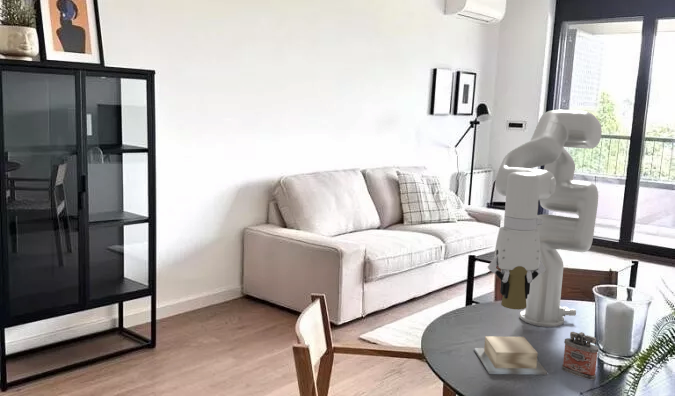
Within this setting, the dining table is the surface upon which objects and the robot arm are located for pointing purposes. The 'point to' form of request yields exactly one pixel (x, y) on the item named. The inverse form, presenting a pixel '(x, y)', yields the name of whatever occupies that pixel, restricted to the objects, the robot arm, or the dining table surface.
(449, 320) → the dining table surface
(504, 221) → the robot arm
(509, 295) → the olive brown knobbed peg
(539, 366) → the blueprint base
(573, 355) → the lighter
